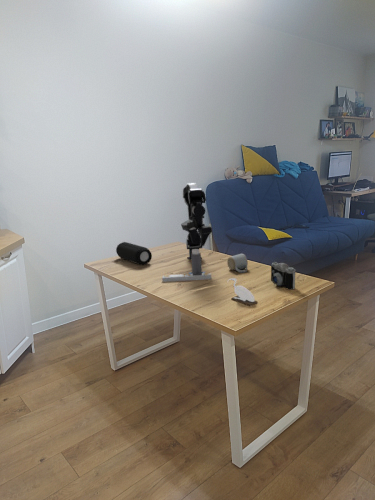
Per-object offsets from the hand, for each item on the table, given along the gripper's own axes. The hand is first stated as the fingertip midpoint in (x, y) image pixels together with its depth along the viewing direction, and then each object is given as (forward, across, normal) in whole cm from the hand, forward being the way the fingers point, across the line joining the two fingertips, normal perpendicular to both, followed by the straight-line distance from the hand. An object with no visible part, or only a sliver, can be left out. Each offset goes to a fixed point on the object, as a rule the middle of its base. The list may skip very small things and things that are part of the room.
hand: (198, 244), depth 184 cm
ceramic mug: (+13, +15, +15) cm, 25 cm away
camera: (+13, +43, +15) cm, 48 cm away
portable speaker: (+13, -36, -22) cm, 44 cm away
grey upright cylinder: (+12, +11, -8) cm, 18 cm away
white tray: (+13, +8, -12) cm, 20 cm away
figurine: (+13, +46, -9) cm, 49 cm away
